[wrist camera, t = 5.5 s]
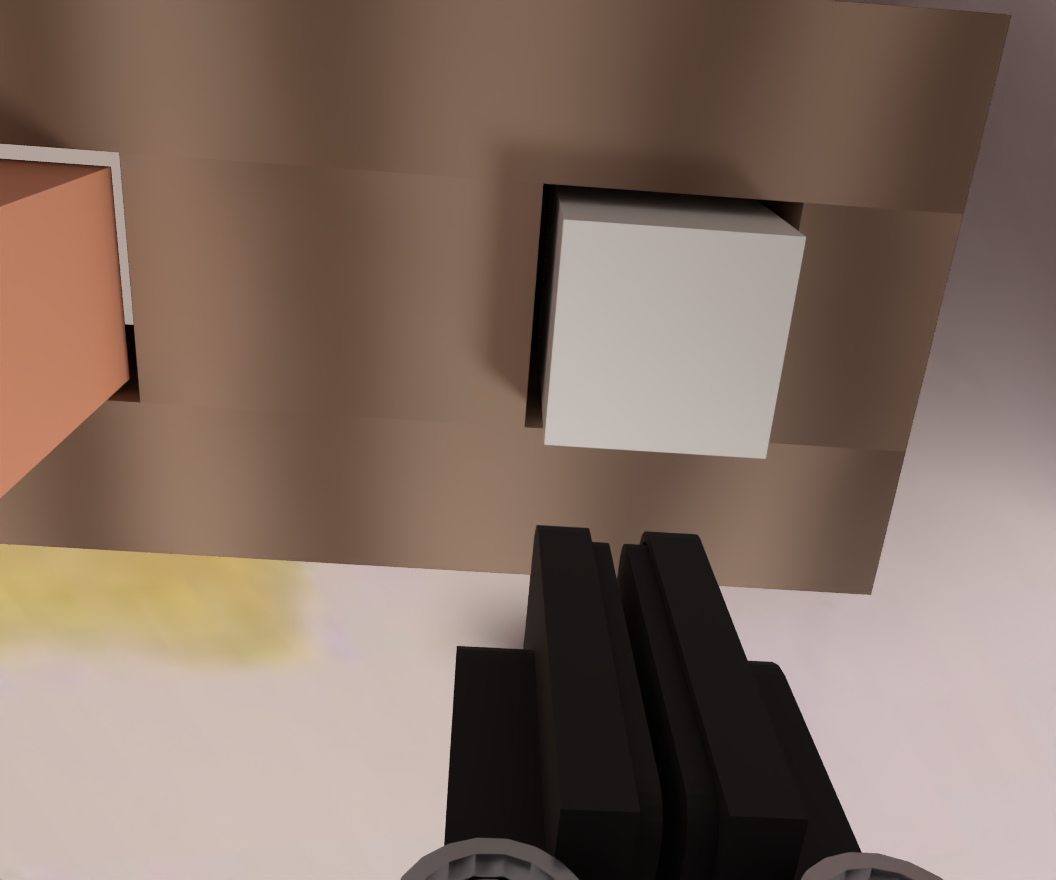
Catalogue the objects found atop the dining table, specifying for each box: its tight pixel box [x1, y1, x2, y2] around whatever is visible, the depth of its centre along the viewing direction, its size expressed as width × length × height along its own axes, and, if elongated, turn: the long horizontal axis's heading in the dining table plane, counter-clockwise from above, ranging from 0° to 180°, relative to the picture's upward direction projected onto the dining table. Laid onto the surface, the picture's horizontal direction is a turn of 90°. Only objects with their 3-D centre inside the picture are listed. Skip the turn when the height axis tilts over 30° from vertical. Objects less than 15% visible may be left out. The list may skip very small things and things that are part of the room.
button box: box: [0, 0, 1011, 595], centre depth 25 cm, size 28×14×6 cm, turn 86°
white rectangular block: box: [538, 184, 806, 459], centre depth 25 cm, size 5×5×8 cm
